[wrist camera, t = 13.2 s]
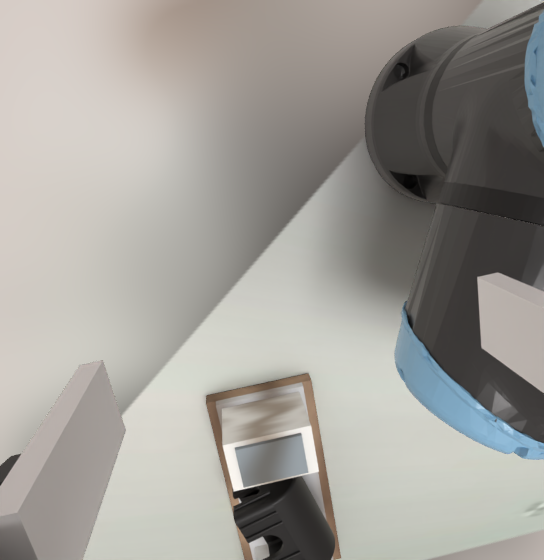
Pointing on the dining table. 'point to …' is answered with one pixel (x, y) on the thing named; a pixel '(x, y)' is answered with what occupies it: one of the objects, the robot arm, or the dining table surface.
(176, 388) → the dining table surface
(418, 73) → the robot arm
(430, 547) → the dining table surface
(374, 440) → the dining table surface
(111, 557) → the dining table surface
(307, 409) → the rail board
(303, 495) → the end cap
